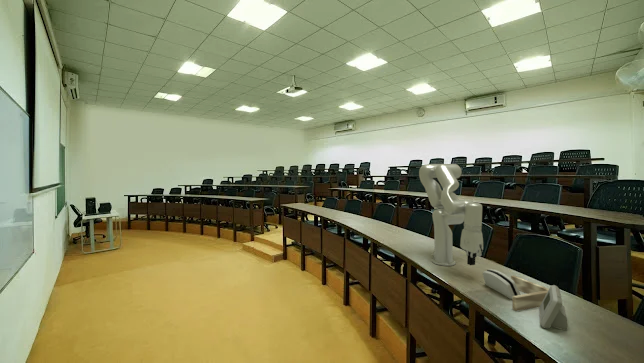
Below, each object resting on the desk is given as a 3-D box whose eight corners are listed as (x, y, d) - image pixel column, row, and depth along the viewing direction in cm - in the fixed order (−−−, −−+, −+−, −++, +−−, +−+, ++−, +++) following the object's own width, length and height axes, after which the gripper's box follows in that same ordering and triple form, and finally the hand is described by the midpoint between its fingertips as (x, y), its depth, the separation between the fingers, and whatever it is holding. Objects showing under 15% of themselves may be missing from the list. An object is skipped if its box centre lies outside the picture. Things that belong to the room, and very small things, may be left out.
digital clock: (540, 308, 104) (540, 281, 104) (572, 318, 97) (572, 288, 97) (529, 324, 93) (529, 294, 93) (564, 336, 87) (564, 303, 86)
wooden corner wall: (478, 291, 119) (478, 280, 119) (514, 286, 124) (514, 275, 124) (516, 311, 102) (516, 297, 102) (556, 303, 107) (556, 291, 107)
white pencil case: (525, 299, 111) (517, 277, 110) (515, 304, 111) (507, 282, 110) (495, 283, 128) (488, 264, 127) (486, 287, 127) (479, 268, 127)
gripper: (455, 225, 139) (453, 259, 141) (478, 232, 125) (477, 271, 126) (467, 223, 141) (465, 258, 143) (491, 231, 127) (490, 269, 128)
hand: (471, 264), depth 135 cm, fingers closed
